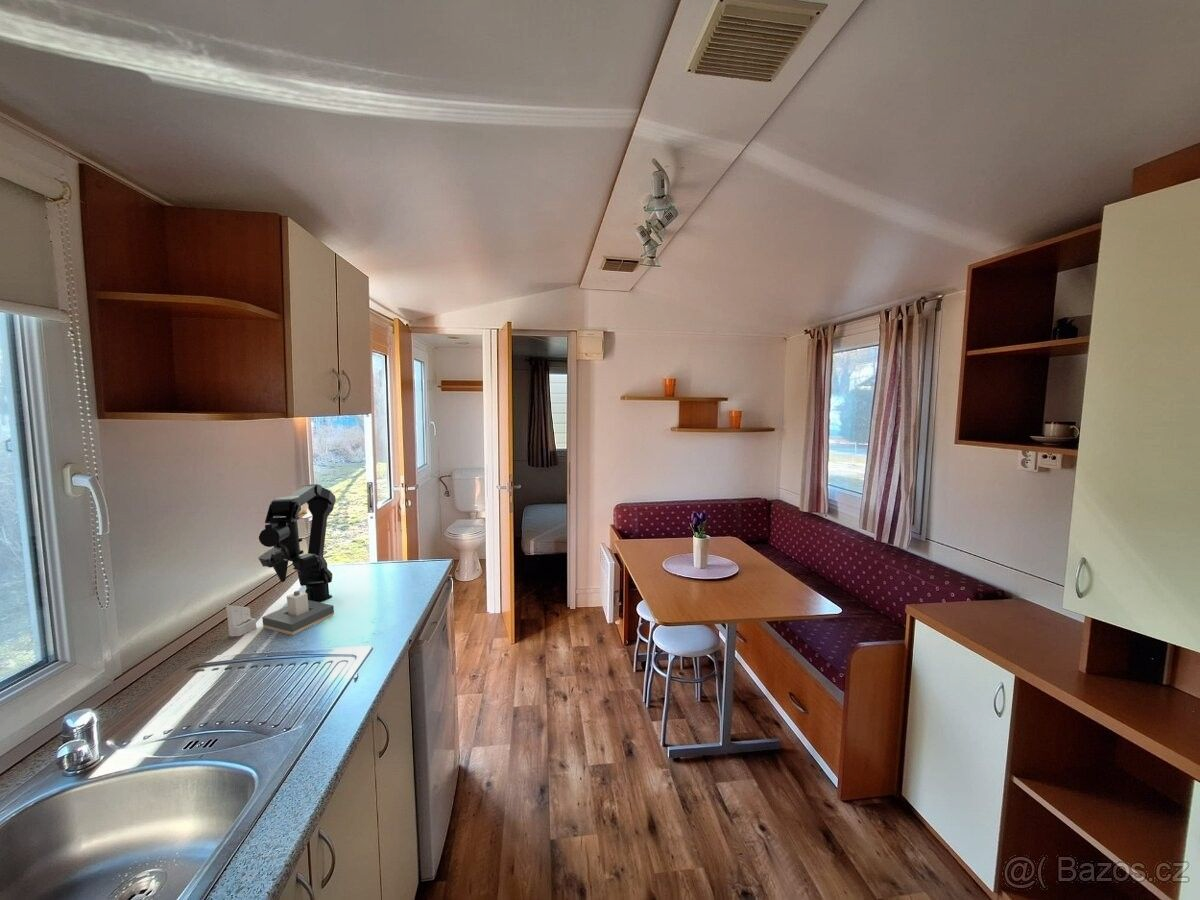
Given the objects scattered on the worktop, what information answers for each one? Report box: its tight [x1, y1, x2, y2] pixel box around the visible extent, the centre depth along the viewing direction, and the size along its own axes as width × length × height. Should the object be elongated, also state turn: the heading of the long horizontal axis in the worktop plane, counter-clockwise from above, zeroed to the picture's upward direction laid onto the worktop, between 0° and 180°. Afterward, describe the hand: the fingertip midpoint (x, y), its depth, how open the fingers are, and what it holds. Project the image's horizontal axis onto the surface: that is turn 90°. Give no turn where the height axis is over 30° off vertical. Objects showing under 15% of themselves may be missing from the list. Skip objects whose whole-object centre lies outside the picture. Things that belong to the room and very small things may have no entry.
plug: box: [286, 590, 309, 617], centre depth 152 cm, size 4×4×9 cm
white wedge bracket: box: [225, 604, 257, 637], centre depth 145 cm, size 4×10×9 cm, turn 168°
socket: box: [261, 600, 335, 636], centre depth 152 cm, size 14×14×4 cm
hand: (292, 583), depth 152 cm, fingers open, 9 cm apart
